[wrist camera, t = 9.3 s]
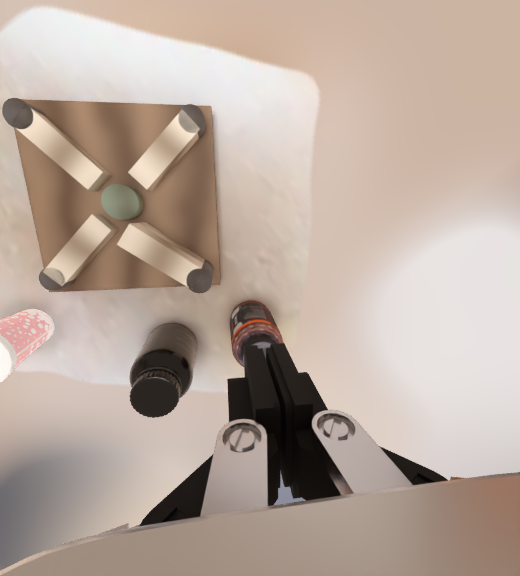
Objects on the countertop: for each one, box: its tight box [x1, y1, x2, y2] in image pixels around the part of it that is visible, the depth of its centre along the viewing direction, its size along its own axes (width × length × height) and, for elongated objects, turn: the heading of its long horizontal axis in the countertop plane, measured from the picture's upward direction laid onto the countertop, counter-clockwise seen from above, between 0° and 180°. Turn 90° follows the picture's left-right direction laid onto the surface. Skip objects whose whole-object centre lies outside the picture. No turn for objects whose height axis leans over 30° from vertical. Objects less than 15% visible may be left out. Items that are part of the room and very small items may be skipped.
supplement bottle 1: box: [130, 324, 197, 418], centre depth 34 cm, size 7×7×12 cm
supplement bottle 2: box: [230, 301, 283, 367], centre depth 34 cm, size 6×6×11 cm
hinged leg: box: [117, 222, 214, 293], centre depth 31 cm, size 10×3×6 cm, turn 55°
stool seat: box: [2, 98, 220, 292], centre depth 32 cm, size 20×20×5 cm
